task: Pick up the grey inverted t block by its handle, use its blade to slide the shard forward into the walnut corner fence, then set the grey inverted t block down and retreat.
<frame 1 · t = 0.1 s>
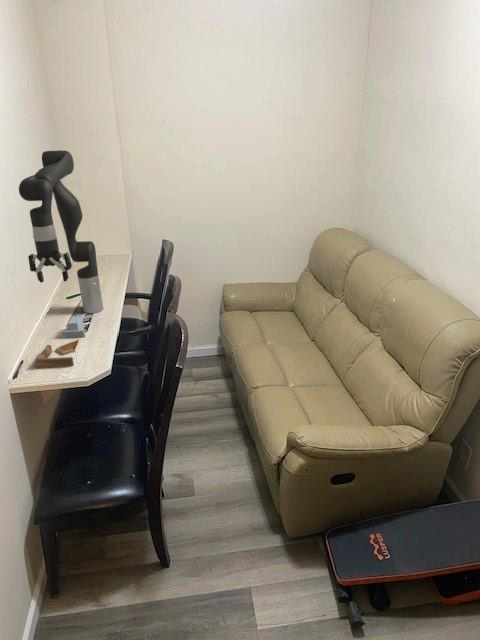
hand: (53, 281, 173), 29 cm above the table, tool pointing down, fingers open, 8 cm apart
grey inverted t block: (77, 332, 201), on the table
corner fence: (59, 360, 178), on the table
shard: (67, 350, 187), on the table
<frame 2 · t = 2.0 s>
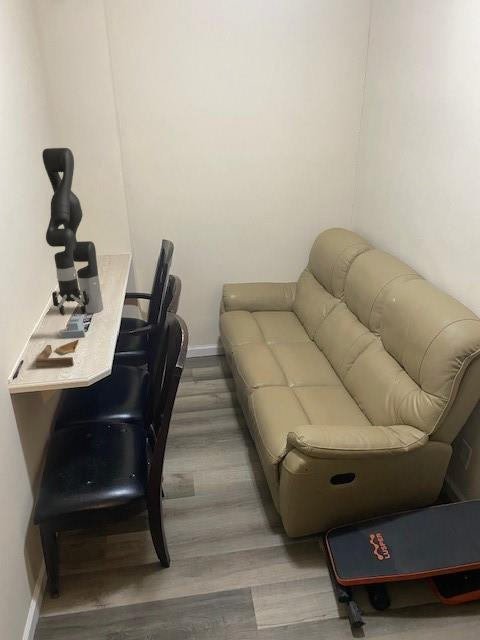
hand: (73, 314, 198), 8 cm above the table, tool pointing down, fingers open, 8 cm apart
nothing on the table moved.
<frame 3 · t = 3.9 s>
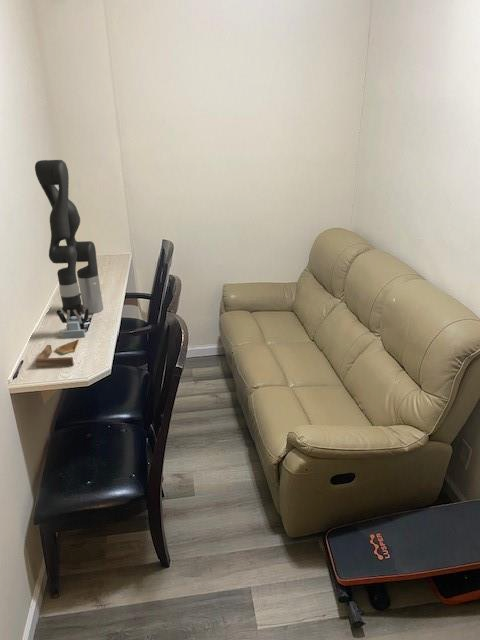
hand: (76, 330, 201), 1 cm above the table, tool pointing down, fingers closed on grey inverted t block, 4 cm apart
grey inverted t block: (77, 332, 201), on the table, touching gripper
everything else where it was.
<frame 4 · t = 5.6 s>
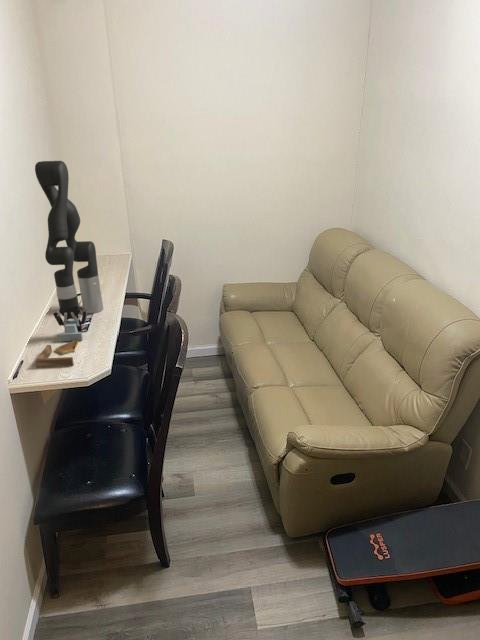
hand: (74, 333, 197), 1 cm above the table, tool pointing down, fingers closed on grey inverted t block, 4 cm apart
grey inverted t block: (74, 335, 198), on the table, touching gripper
everything else where it was.
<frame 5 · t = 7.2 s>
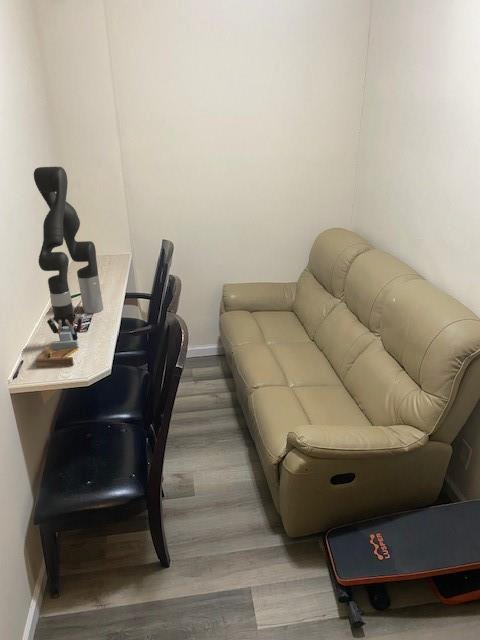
hand: (69, 341, 190), 1 cm above the table, tool pointing down, fingers closed on grey inverted t block, 4 cm apart
grey inverted t block: (69, 343, 191), on the table, touching shard, gripper
shard: (61, 355, 183), on the table, touching grey inverted t block
when the fingers open (1 cm above the table, at t = 9.2 s): grey inverted t block stays where it is, on the table.
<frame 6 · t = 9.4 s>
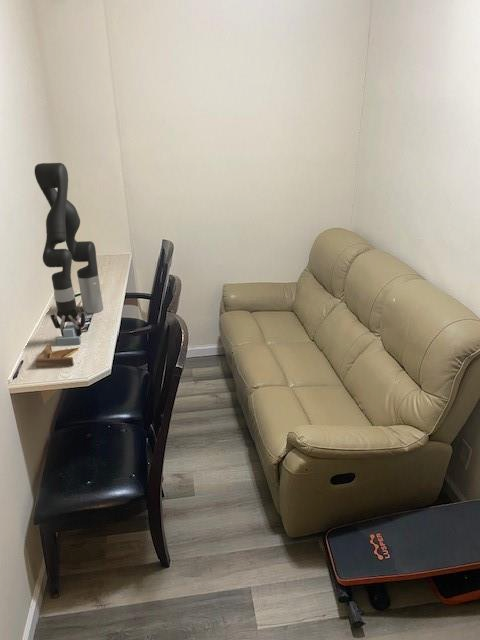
hand: (72, 336, 194), 1 cm above the table, tool pointing down, fingers open, 5 cm apart
grey inverted t block: (72, 339, 195), on the table
shard: (61, 356, 183), on the table
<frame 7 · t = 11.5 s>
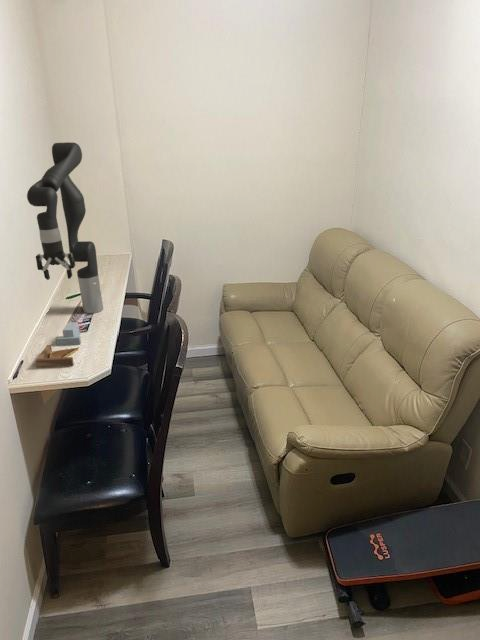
hand: (59, 278, 190), 25 cm above the table, tool pointing down, fingers open, 8 cm apart
nothing on the table moved.
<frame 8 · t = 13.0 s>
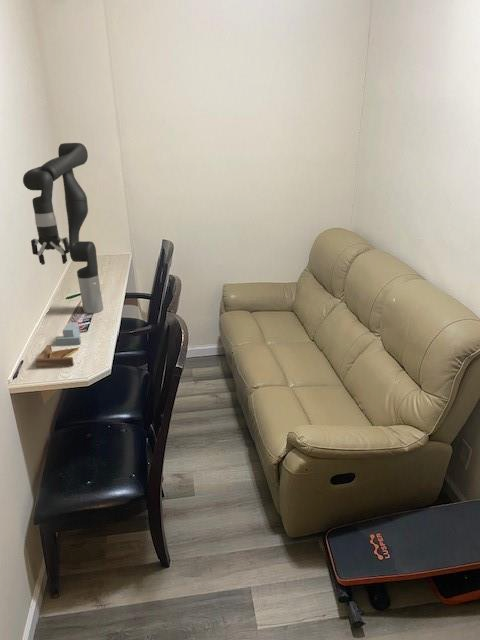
hand: (53, 263, 191), 30 cm above the table, tool pointing down, fingers open, 8 cm apart
nothing on the table moved.
at the end: shard inside the target area (3.0 cm from its centre), on the table; shard moved 5.3 cm from its start; the gripper is holding nothing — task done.
